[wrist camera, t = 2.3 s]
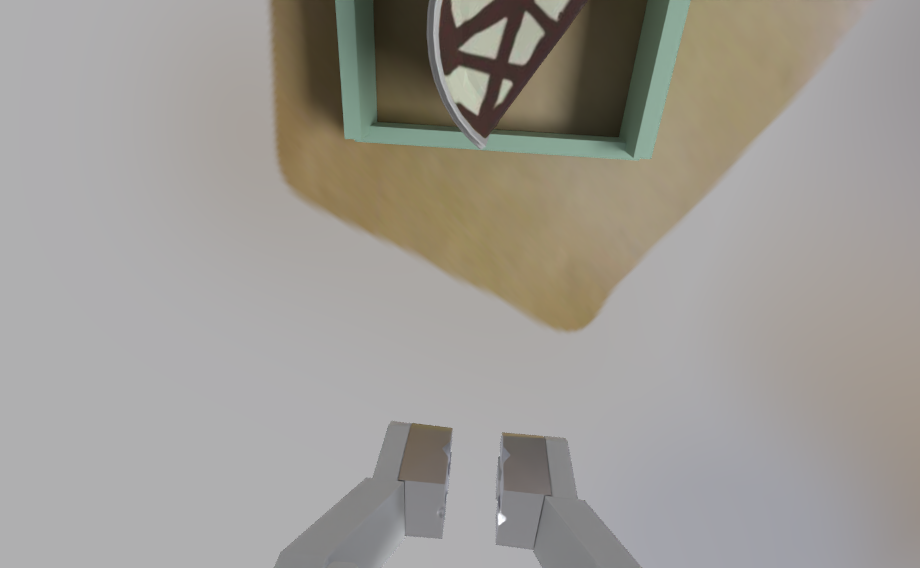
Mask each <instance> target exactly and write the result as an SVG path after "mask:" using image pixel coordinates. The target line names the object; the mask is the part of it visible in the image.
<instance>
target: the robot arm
mask: <svg viewBox="0 0 920 568" xmlns="http://www.w3.org/2000/svg"><path fill="white" fill-rule="evenodd" d="M452 431H453V429H452V428H447V427H439V426H431V425H423V424H415V423H404V422H395V421H391V422H390V424H389V426H388V428H387V432H386V435H385V438H384V442H383V445H382V449H381V451H380V455H379V458H378V461H377V465H376V468H375V471H374V475H373V478H365V479H364V480H363V481H362V482H361V483H360V484H358V485H357V486H356V487H355V488H354V489H353V490H351V491H350V492H349V493H348V494H347V495H346V496H345V497H343V498H342V499H341V500H340V501H339V502H338V503H337V504H336V505H334V506H333V507H332V508H331V509H330V510H329V511H327V512H326V513H325V514H324V515H323V516H322V517H321V518H319V519H318V520H317V521H316V522H315V523H314V524H313V525H311V526H310V527H309V528H308V529H307V530H306V531H305V532H303V533H302V534H301V535H300V536H299V537H298V538H297V539H295V540H294V541H293V542H292V543H291V544H290V545H289V546H287V547H286V548H285V549H284V550H283V551H282V552H281V553H280V555H279V557H278V560H277V562H276V564H275V567H274V568H382V567H383V565H384V564H385V562H387V560H388V559H389V558H390V556H391V555H392V554H393V553H394V551H395V550H396V549H397V547H398V546H399V545H400V544H401V543H402V541H403V540H404V539H405V536H414V537H427V538H439V539H442V536H443V528H444V520H445V512H446V497H447V494H448V486H449V476H450V465H451V445H452ZM496 499H497V501H498V503H497V512H496V545H502V546H509V547H517V548H524V549H532V550H534V551H533V552H534V554H535V555H536V557H537V559H538V561H539V563H540V564H541V566H542V568H642V567H641V566H640V565H639V564H638V562H637V561H636V560H635V559H634V558H633V557H632V555H631V554H630V553H629V552H628V551H627V549H626V548H625V547H624V546H623V545H622V544H621V542H620V541H619V540H618V539H617V538H616V537H615V535H614V534H613V533H612V532H611V531H610V529H609V528H608V527H607V526H606V525H605V524H604V522H603V521H602V520H601V519H600V518H599V517H598V515H597V514H596V513H595V512H594V511H593V509H592V508H591V507H590V506H589V505H588V504H587V502H586V501H585V500H579V499H578V497H577V491H576V486H575V480H574V475H573V469H572V463H571V458H570V452H569V447H568V442H567V440H566V439H565V438H558V437H548V436H544V437H543V436H537V435H525V434H514V433H502V436H501V442H500V456H499V458H498V466H497V478H496Z"/></svg>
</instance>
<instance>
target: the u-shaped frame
mask: <svg viewBox="0 0 920 568" xmlns="http://www.w3.org/2000/svg"><path fill="white" fill-rule="evenodd" d="M689 4H690V0H648V1H647V6H646V11H645V15H644V20H643V25H642V30H641V34H640V39H639V44H638V49H637V53H636V58H635V63H634V68H633V72H632V77H631V82H630V87H629V91H628V96H627V101H626V106H625V110H624V115H623V120H622V125H621V129H620V134H619V137H605V136H589V135H574V134H558V133H543V132H527V131H512V130H497V129H493V130H492V131H491V133H490V136H489V139H488V141H487V144H486V147H485V148H484V147H483V149H482V150H490V151H505V152H520V153H534V154H549V155H564V156H579V157H594V158H609V159H624V160H639V159H640V158H641V159H651V157H652V153H653V149H654V145H655V141H656V137H657V133H658V129H659V125H660V121H661V117H662V113H663V109H664V105H665V101H666V97H667V93H668V89H669V85H670V81H671V77H672V73H673V69H674V65H675V61H676V57H677V53H678V49H679V45H680V41H681V37H682V33H683V29H684V24H685V20H686V16H687V12H688V8H689ZM335 5H336V19H337V34H338V48H339V62H340V77H341V91H342V105H343V120H344V134H345V139H355V141H356V142H370V143H385V144H400V145H415V146H430V147H445V148H460V149H475V150H481V149H479V148H478V147H477V146H476V145H474V144H473V143H472V142H471V141H470V140H469V139H468V138H467V137H466V136H465V135H464V134H463V132H462V131H461V130H460V129H459V127H450V126H435V125H419V124H404V123H388V122H377V95H376V67H375V39H374V11H373V0H335Z"/></svg>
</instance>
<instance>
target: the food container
mask: <svg viewBox="0 0 920 568" xmlns="http://www.w3.org/2000/svg"><path fill="white" fill-rule="evenodd" d="M587 1H588V0H429V5H428V11H427V45H428V55H429V62H430V66H431V70H432V74H433V78H434V82H435V85H436V87H437V90H438V92H439V95H440V97H441V100H442V102H443V104H444V106H445V108H446V109H447V111H448V113H449V114H450V116H451V118H452V120H453V121H454V122H455V124H456V125H457V126H458V127H459V129H460V130H461V131H462V132H463V134H464V135H465V136H466V137H467V138H468V139H469V140H470V141H471V142H472V143H473V144H474V145H476V146H477V147H478V148H479V149H481V150H482V149H483V147H484V148H485V147H486V144H487V141H488V139H489V136H490V133H491V131H492V130H493V129H494V128H495V127H496V126H497V124H498V122H499V120H500V119H501V117H502V116H503V115H504V113H505V112H506V111H507V109H508V108H509V107H510V105H511V104H512V103H513V101H514V100H515V99H516V97H517V96H518V95H519V93H520V92H521V91H522V89H523V88H524V86H525V85H526V84H527V82H528V81H529V80H530V78H531V77H532V76H533V74H534V73H535V71H536V70H537V69H538V67H539V66H540V65H541V63H542V62H543V61H544V59H545V58H546V57H547V55H548V54H549V53H550V51H551V50H552V49H553V47H554V46H555V45H556V43H557V42H558V41H559V39H560V38H561V37H562V35H563V34H564V33H565V31H566V30H567V29H568V28H569V26H570V25H571V23H572V22H573V20H574V19H575V18H576V16H577V15H578V14H579V12H580V11H581V9H582V8H583V7H584V5H585V4H586V3H587Z"/></svg>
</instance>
